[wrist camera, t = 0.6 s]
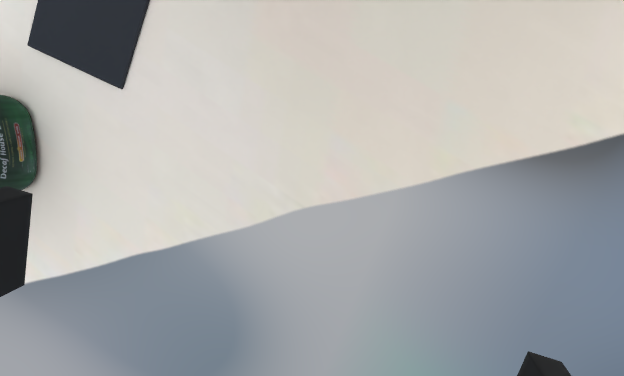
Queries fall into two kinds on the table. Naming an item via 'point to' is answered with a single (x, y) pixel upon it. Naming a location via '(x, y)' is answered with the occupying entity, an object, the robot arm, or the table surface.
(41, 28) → the desk mat
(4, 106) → the coffee jar
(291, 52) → the table surface
